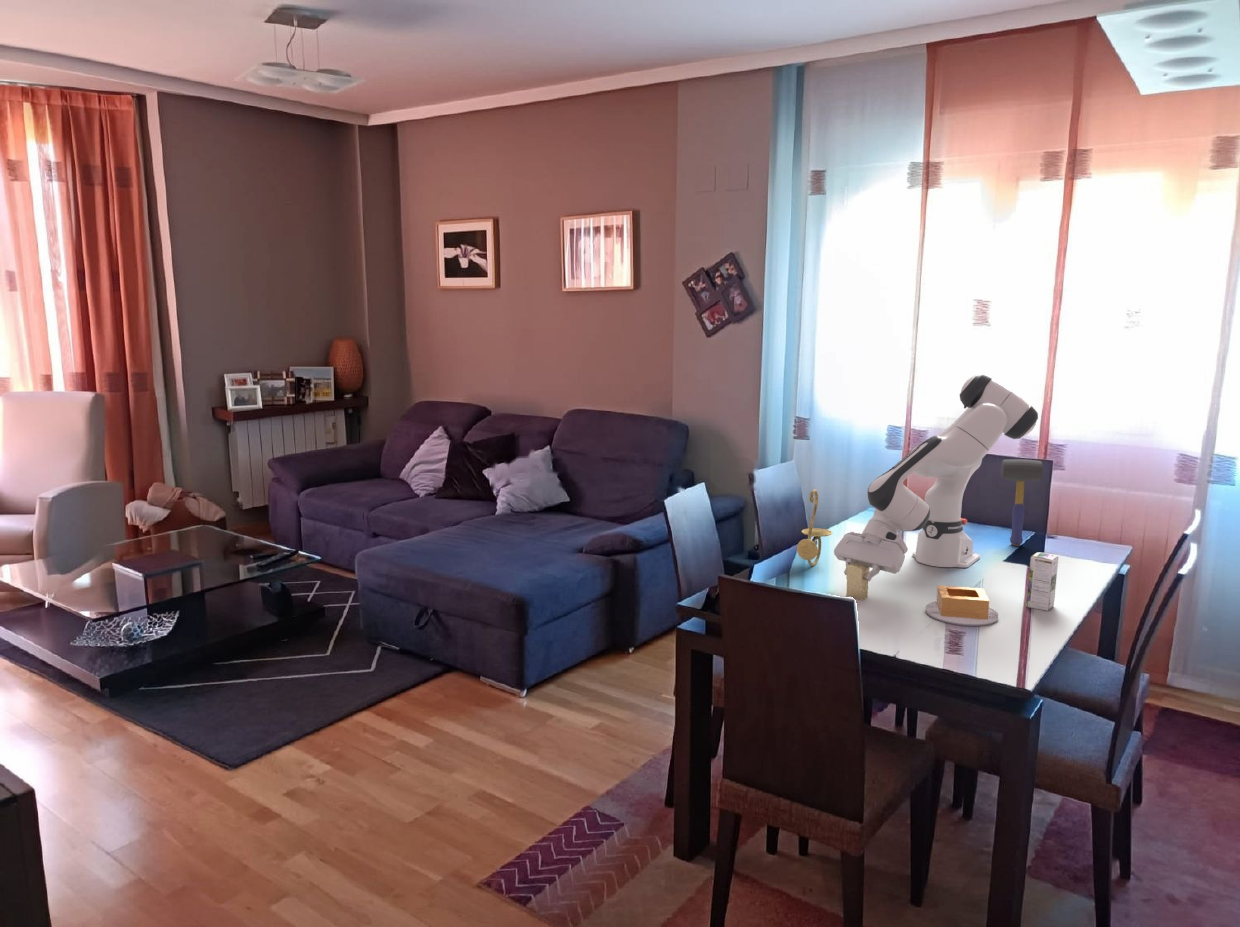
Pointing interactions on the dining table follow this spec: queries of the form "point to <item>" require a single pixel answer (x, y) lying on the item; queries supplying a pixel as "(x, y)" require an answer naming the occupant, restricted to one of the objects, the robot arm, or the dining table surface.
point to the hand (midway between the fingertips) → (856, 577)
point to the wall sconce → (809, 547)
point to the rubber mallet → (1020, 489)
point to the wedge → (857, 581)
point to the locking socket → (962, 607)
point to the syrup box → (1042, 581)
